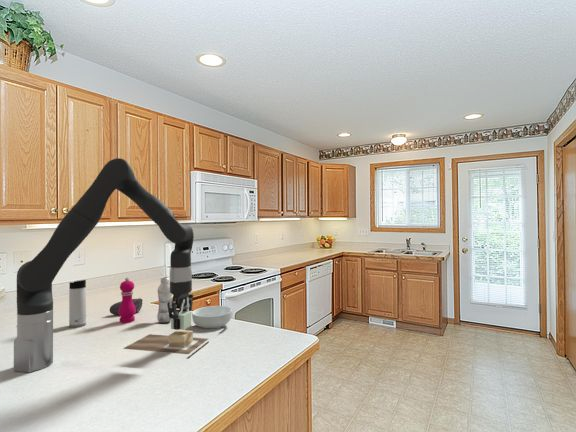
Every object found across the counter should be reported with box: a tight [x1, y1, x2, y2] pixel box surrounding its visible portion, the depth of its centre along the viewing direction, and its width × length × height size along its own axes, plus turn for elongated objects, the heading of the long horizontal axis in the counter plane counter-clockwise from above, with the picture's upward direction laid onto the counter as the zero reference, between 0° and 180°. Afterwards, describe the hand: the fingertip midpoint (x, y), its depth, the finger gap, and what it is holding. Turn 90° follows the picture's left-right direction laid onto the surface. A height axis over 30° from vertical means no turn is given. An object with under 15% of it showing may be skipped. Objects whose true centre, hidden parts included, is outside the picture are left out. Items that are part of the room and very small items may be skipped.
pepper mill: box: [118, 277, 137, 324], centre depth 156 cm, size 7×7×20 cm
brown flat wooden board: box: [122, 333, 210, 360], centre depth 123 cm, size 15×25×2 cm, turn 77°
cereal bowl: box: [191, 305, 233, 329], centre depth 147 cm, size 17×17×7 cm
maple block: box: [168, 329, 194, 348], centre depth 122 cm, size 6×6×4 cm
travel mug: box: [68, 279, 87, 329], centre depth 150 cm, size 6×7×20 cm
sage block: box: [170, 311, 192, 330], centre depth 122 cm, size 5×5×5 cm
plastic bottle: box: [156, 276, 173, 324], centre depth 154 cm, size 6×7×20 cm
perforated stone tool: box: [109, 297, 143, 316], centre depth 169 cm, size 15×5×7 cm, turn 117°
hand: (181, 326), depth 122 cm, fingers closed on sage block, 5 cm apart
